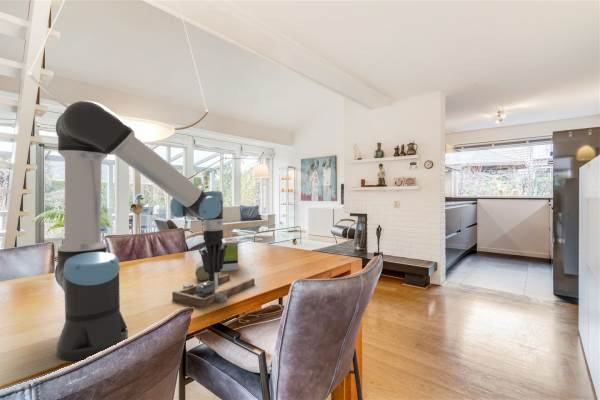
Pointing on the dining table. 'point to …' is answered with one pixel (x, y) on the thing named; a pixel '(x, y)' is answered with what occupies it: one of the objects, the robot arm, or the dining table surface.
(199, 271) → the ceramic mug
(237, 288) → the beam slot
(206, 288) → the rider
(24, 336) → the dining table surface
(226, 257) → the tea box
